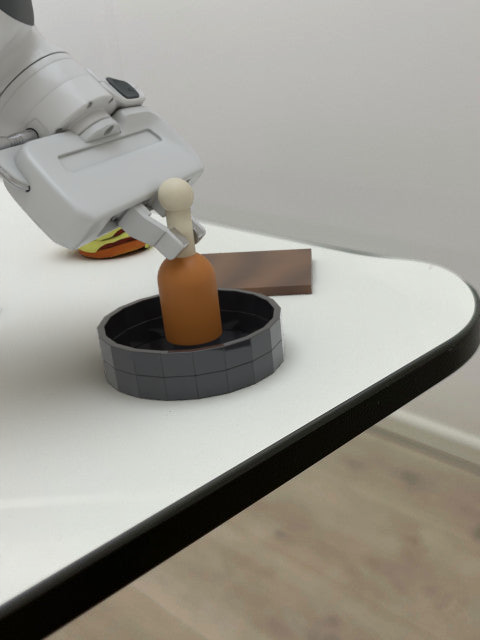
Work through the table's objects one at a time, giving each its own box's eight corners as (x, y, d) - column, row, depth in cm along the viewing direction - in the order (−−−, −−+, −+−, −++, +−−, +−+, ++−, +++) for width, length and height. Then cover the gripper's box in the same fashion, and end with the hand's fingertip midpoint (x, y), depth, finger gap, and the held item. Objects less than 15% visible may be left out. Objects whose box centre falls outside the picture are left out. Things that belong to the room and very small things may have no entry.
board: (160, 305, 81) (158, 292, 80) (181, 266, 94) (180, 254, 93) (312, 297, 82) (311, 284, 81) (312, 260, 94) (311, 248, 94)
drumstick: (161, 347, 64) (136, 185, 58) (170, 325, 68) (148, 173, 62) (219, 344, 64) (200, 183, 58) (224, 322, 68) (207, 170, 63)
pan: (85, 411, 59) (74, 358, 58) (128, 336, 73) (120, 292, 71) (281, 399, 60) (276, 347, 58) (287, 328, 74) (283, 283, 72)
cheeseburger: (153, 256, 98) (120, 181, 93) (72, 282, 98) (36, 208, 93) (158, 234, 107) (129, 165, 102) (85, 258, 107) (52, 190, 102)
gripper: (-8, 109, 50) (150, 259, 52) (143, 80, 68) (256, 192, 70) (-49, 177, 53) (103, 316, 55) (106, 132, 71) (216, 238, 73)
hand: (190, 246), depth 63 cm, fingers closed on drumstick
